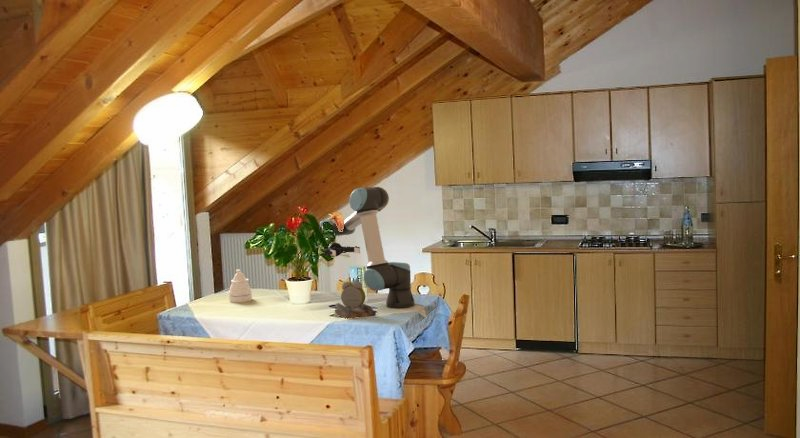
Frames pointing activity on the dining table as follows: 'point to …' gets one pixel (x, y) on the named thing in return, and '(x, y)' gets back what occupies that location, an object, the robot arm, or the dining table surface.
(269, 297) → the dining table surface
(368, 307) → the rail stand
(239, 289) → the honey pot
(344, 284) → the alarm clock
